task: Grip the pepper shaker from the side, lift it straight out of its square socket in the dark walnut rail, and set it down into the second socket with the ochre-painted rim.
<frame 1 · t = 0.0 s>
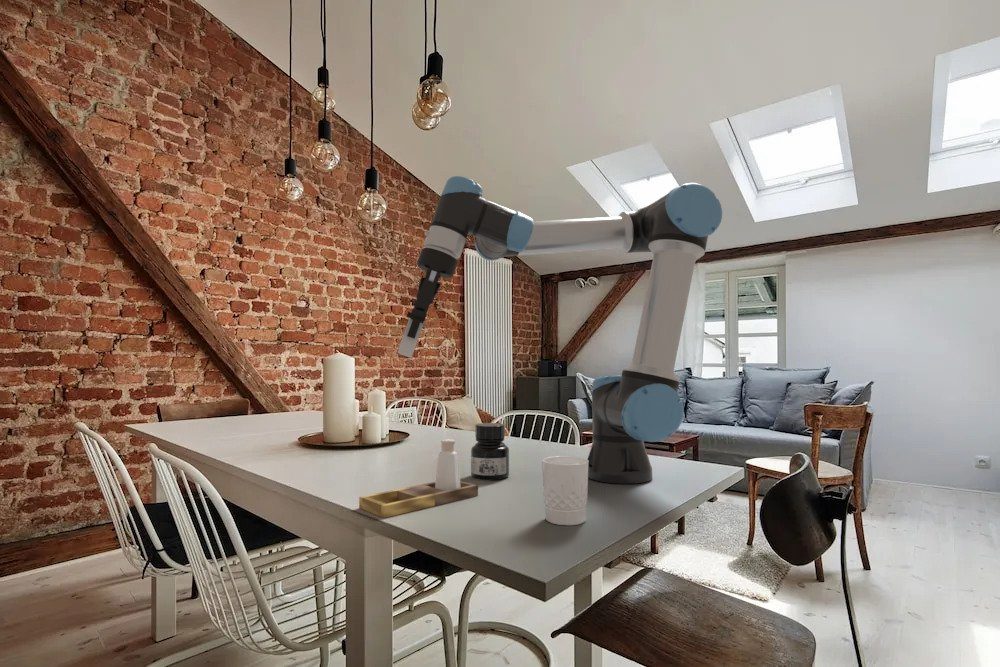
hand: (404, 355, 102), 28 cm above the table, tool tilted 20°, fingers open, 13 cm apart
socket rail: (421, 501, 101), on the table
white cup: (565, 521, 89), on the table
pepper shaker: (447, 496, 105), resting in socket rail
ink bottle: (490, 477, 122), on the table
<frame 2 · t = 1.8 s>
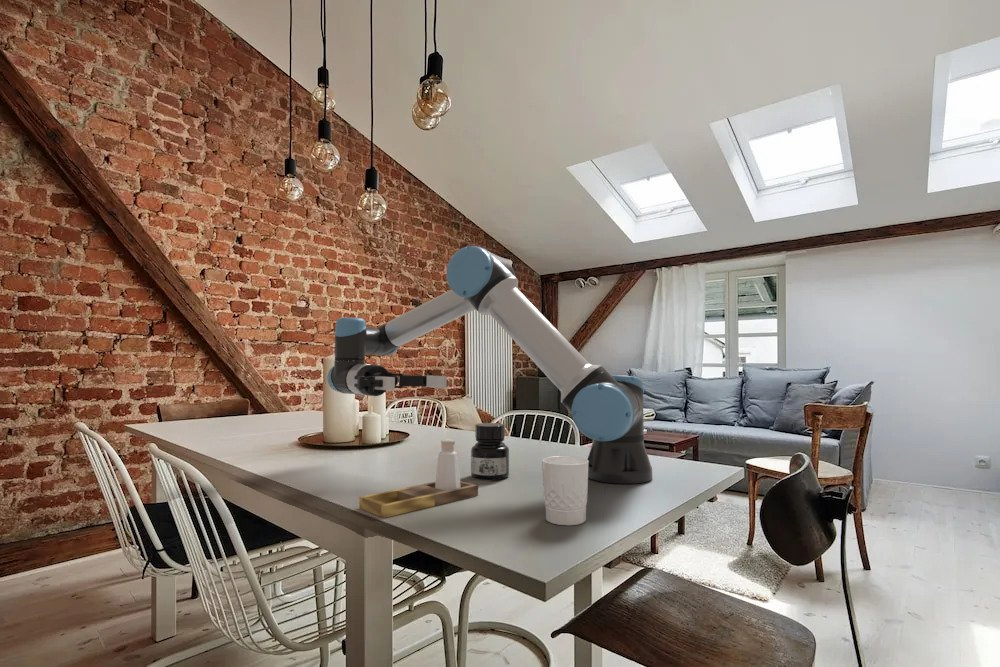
hand: (420, 383, 113), 22 cm above the table, tool horizontal, fingers open, 13 cm apart
nothing on the table moved.
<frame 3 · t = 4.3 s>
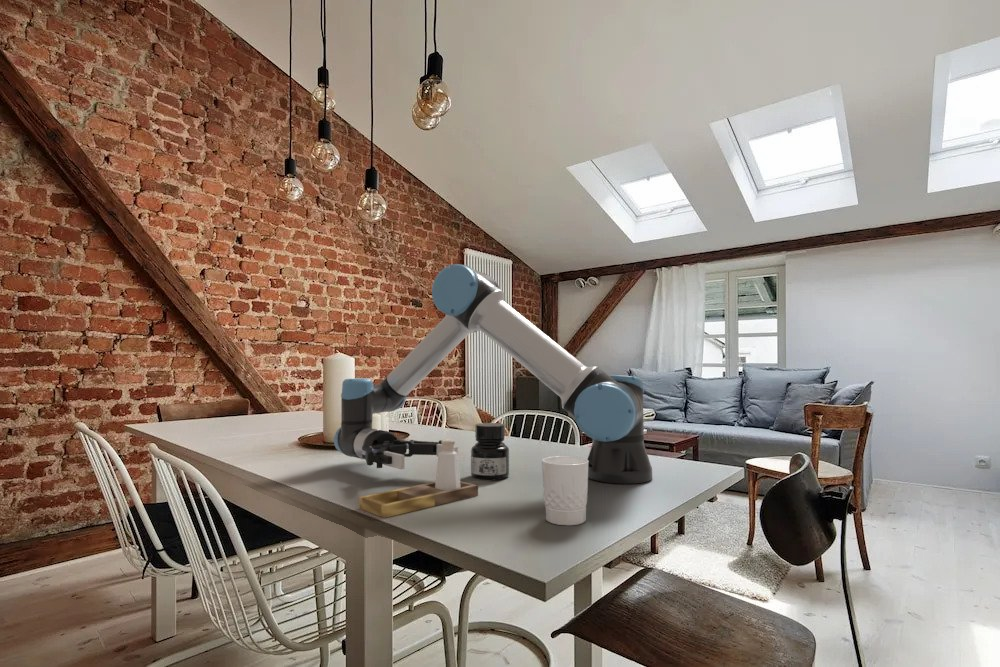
hand: (430, 457, 109), 7 cm above the table, tool horizontal, fingers open, 13 cm apart
nothing on the table moved.
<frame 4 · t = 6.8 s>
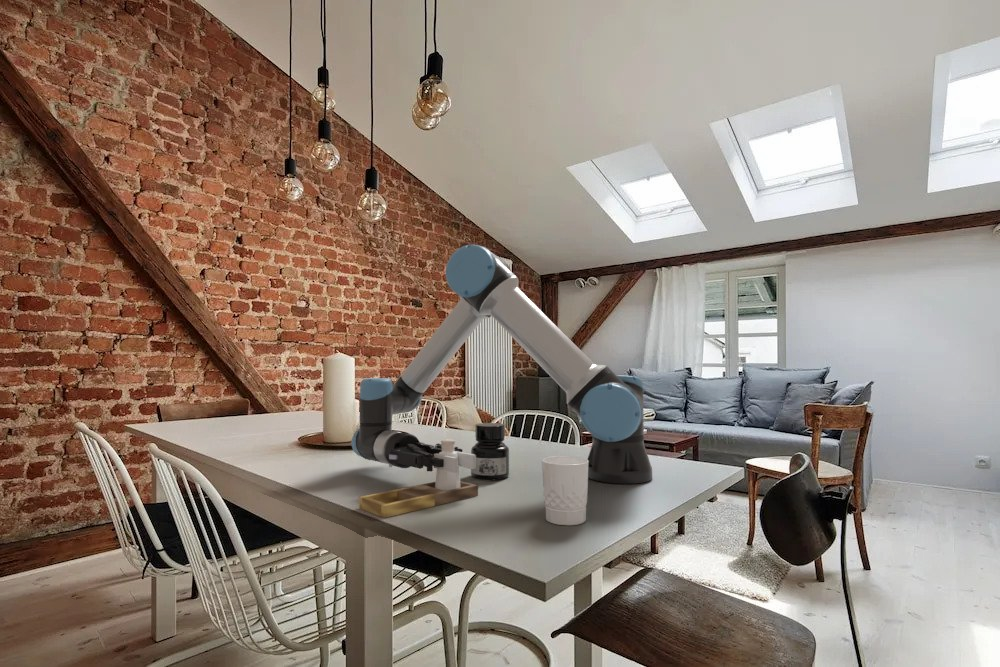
hand: (465, 463, 102), 7 cm above the table, tool horizontal, fingers closed on pepper shaker, 4 cm apart
pepper shaker: (447, 496, 105), resting in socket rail, touching gripper
everything else where it was.
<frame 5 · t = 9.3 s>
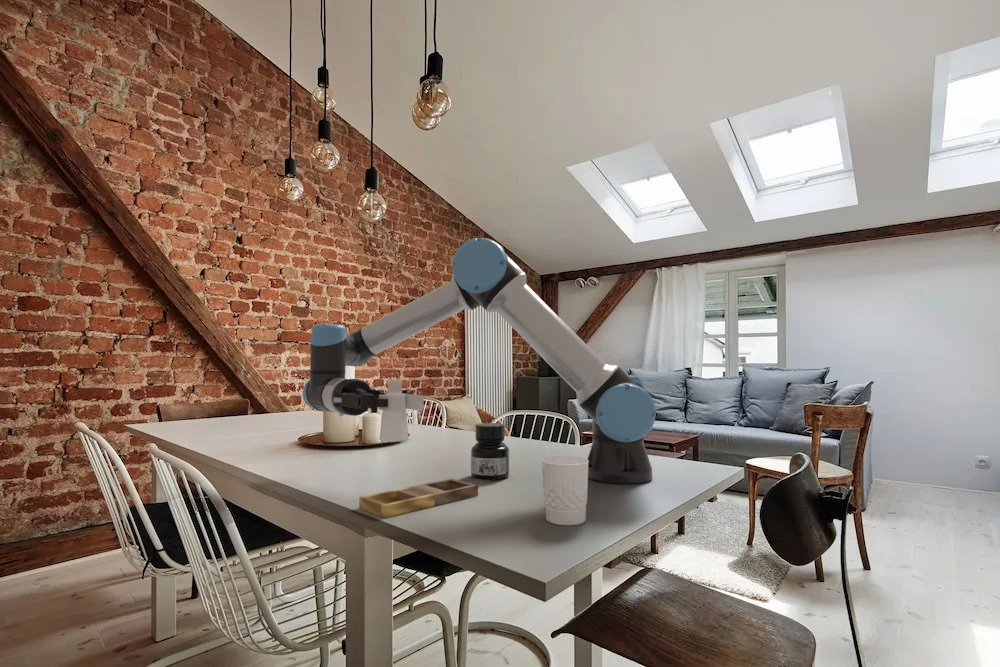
hand: (410, 403, 94), 19 cm above the table, tool horizontal, fingers closed on pepper shaker, 4 cm apart
pepper shaker: (393, 440, 98), point 12 cm above the table, touching gripper
everything else where it was.
when the fingers open (8 cm above the table, at t = 12.1 s): pepper shaker drops 1 cm, resting in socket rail.
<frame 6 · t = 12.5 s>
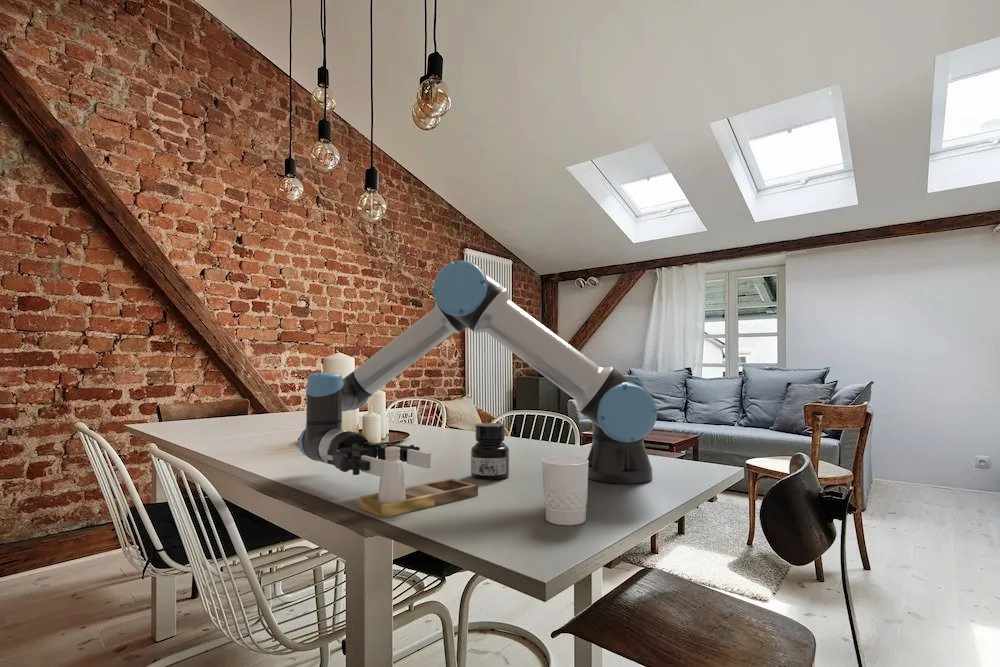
hand: (406, 464, 94), 8 cm above the table, tool horizontal, fingers open, 9 cm apart
pepper shaker: (391, 509, 96), resting in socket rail
everything else where it was.
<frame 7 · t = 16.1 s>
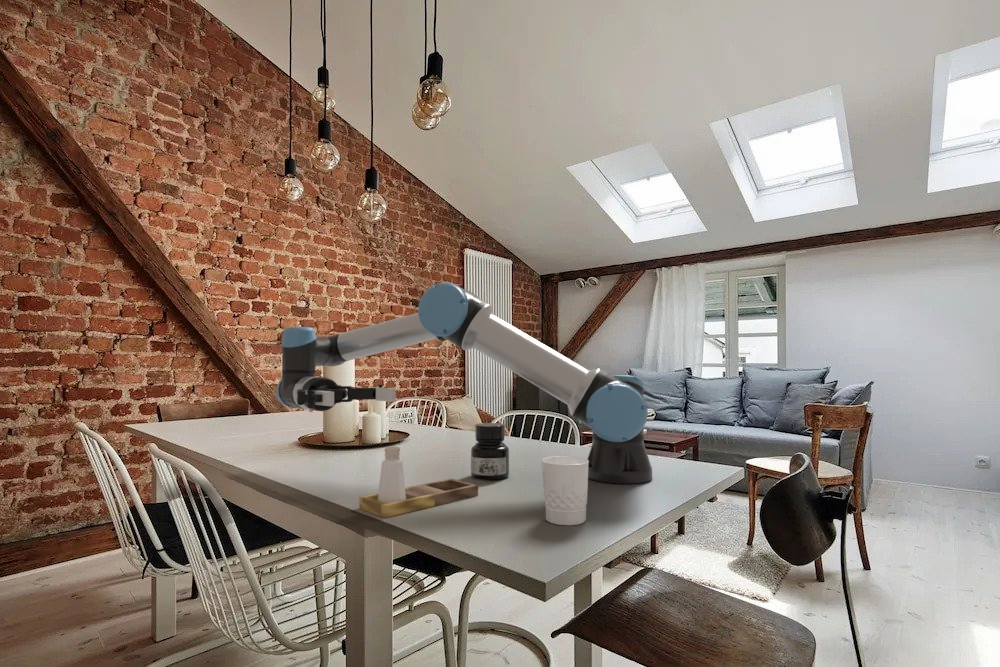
hand: (364, 396, 104), 20 cm above the table, tool horizontal, fingers open, 13 cm apart
nothing on the table moved.
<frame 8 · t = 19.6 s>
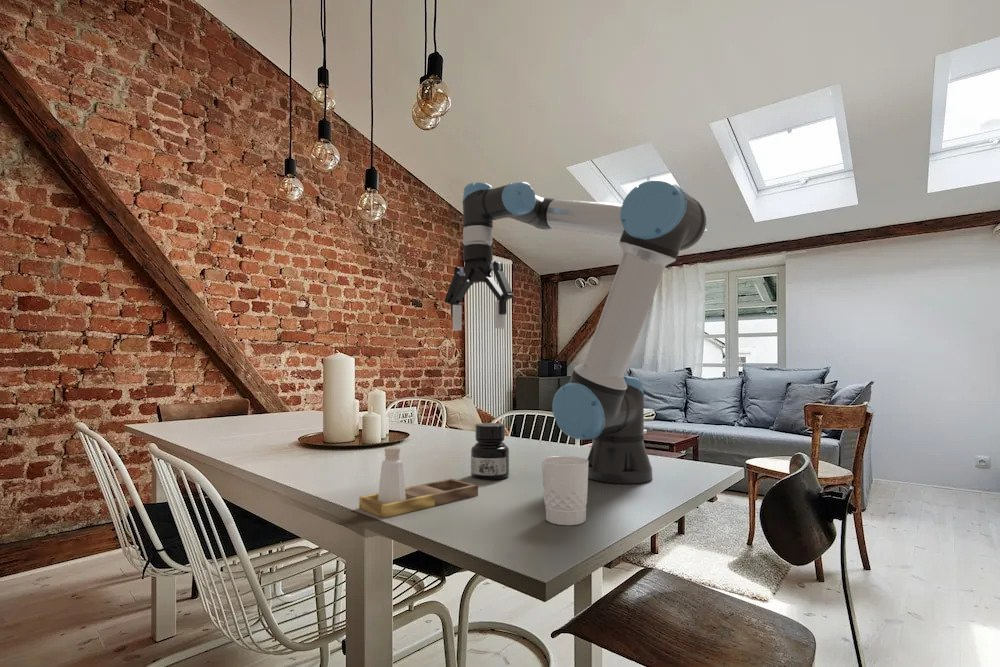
hand: (477, 329, 133), 35 cm above the table, tool pointing down, fingers open, 13 cm apart
nothing on the table moved.
at the end: pepper shaker 0.1 cm from the target spot on the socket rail, point 0.0 cm above the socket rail's base; pepper shaker tilted 0°; the gripper is holding nothing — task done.
